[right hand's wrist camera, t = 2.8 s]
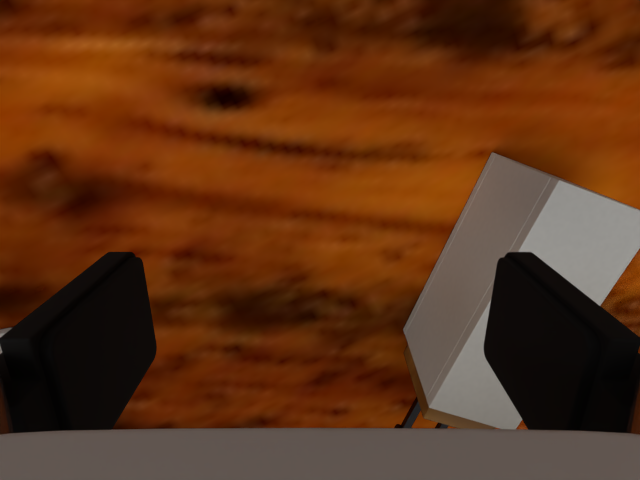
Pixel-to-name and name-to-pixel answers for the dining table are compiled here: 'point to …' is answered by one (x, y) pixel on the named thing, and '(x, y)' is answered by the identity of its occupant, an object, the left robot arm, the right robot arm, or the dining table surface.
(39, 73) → the dining table surface
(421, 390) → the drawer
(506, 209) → the cabinet
